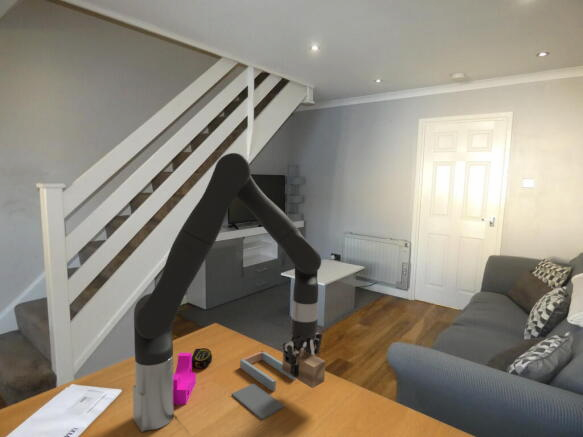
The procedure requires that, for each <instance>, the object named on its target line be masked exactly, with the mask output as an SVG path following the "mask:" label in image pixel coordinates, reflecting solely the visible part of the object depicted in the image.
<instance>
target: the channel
mask: <svg viewBox="0 0 583 437" xmlns="http://www.w3.org/2000/svg"><path fill="white" fill-rule="evenodd" d="M261 361H263V362H265V363H267V365H270V366H271V367H273V368H275V369H276V370H277V371H279V372H280V373H282V374H283V375H285V377H287V378H289V379H291V380H292V381H294V380H297V379H296V378H295V377H293V376H291V375H290V374H288V373H286V372H285V371H283V370H282V364H283V361H281V360H279V359H277V358H275V357H274V356H272V355H270V354H269V353H267V352H266V351H264V350H260V351H259V352H256V353H253V354H251V355H248V356H246V357H244V358H241V359H240V361H239V364H240V365H239V366H240V369H241V370H243V371H244V372H245V373H247V374H248V375H249V376H250V377H252V378H254V379H255V380H256V381H257V382H259V383H260V384H262V385H263V386H264V387H265V388H267V389H268V390H270V391H271V392H275V391H277V390H276V387H277V386H276V385H277V384H276V383H277V382H276V379H274V378H272V377H271V376H269V375H267V374H266V373H265V372H264V371H262V370H260V369H259V368H257V367H256V366H254V365H253V364H256V363H258V362H261Z"/></svg>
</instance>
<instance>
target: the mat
mask: <svg viewBox="0 0 583 437" xmlns="http://www.w3.org/2000/svg"><path fill="white" fill-rule="evenodd" d="M231 396H232V397H233V398H235V399H236V400H237V401H238V402H239V403H240V404H242V405H243V406H244V407H245V408H246V409H248V410H249V411H250V412H251V413H252V414H253V415H255V416H256V417H257V418H258V419H260V420H261V421H263V420H264V419H266V418H268V417H269V416H271V415H273V414H274V413H276V412H279V411H280V410H282V409H283V408H285V405H284V404H283V403H282V402H281V401H279V400H277V398H275V397H273V396H272V395H271V394H269V392H266V390H264V389H262V387H260V386H259V385H258V384H256V383H251V384H249V385H248V386H245V387H243V388H241V389H238V390H237V391H234V392H232V393H231Z"/></svg>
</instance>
